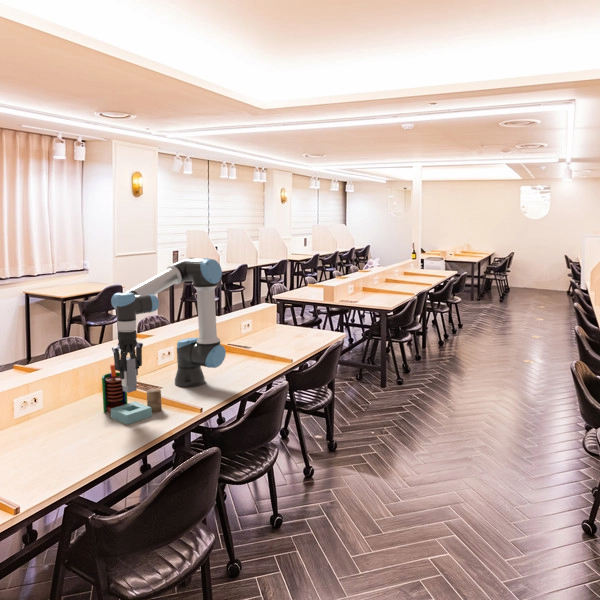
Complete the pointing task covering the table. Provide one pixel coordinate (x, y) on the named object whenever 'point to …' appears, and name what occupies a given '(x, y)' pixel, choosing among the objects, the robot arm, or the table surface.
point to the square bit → (130, 375)
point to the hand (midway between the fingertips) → (129, 384)
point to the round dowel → (154, 400)
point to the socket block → (131, 412)
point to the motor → (113, 390)
